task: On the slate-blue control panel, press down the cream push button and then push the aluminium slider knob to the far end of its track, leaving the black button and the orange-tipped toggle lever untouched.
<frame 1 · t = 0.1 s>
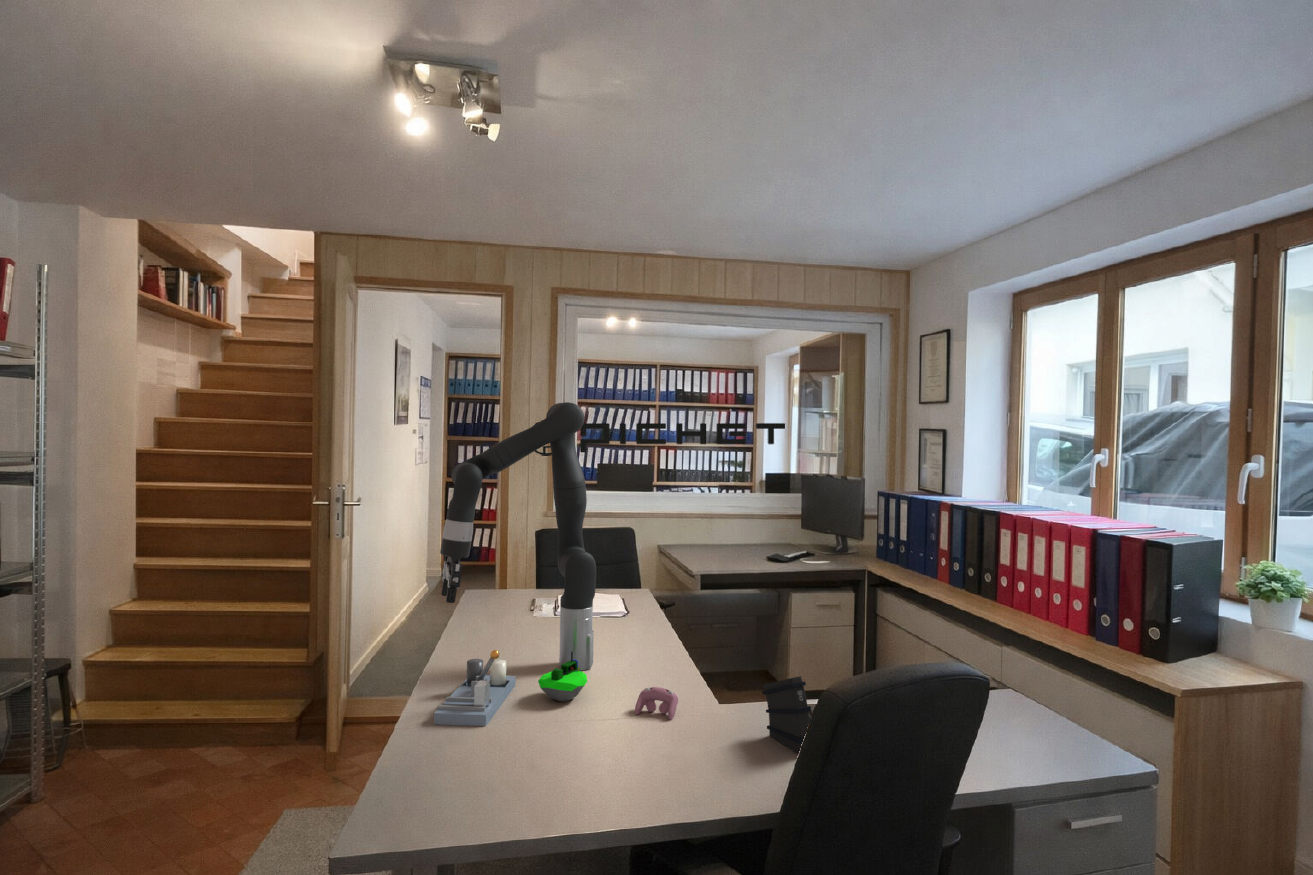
hand: (447, 599, 186), 22 cm above the table, tool pointing down, fingers open, 8 cm apart
button b: (474, 671, 180), point 5 cm above the table, slide at 0.0 cm
button a: (498, 672, 180), point 5 cm above the table, slide at 0.0 cm
toggle lever: (486, 668, 173), point 9 cm above the table, hinge at -30.0°
panel: (477, 703, 173), on the table
slider knob: (482, 694, 165), point 5 cm above the table, slide at 0.0 cm
video game controller: (656, 714, 168), on the table
magazine: (786, 742, 154), on the table
green floating island model: (562, 699, 177), on the table
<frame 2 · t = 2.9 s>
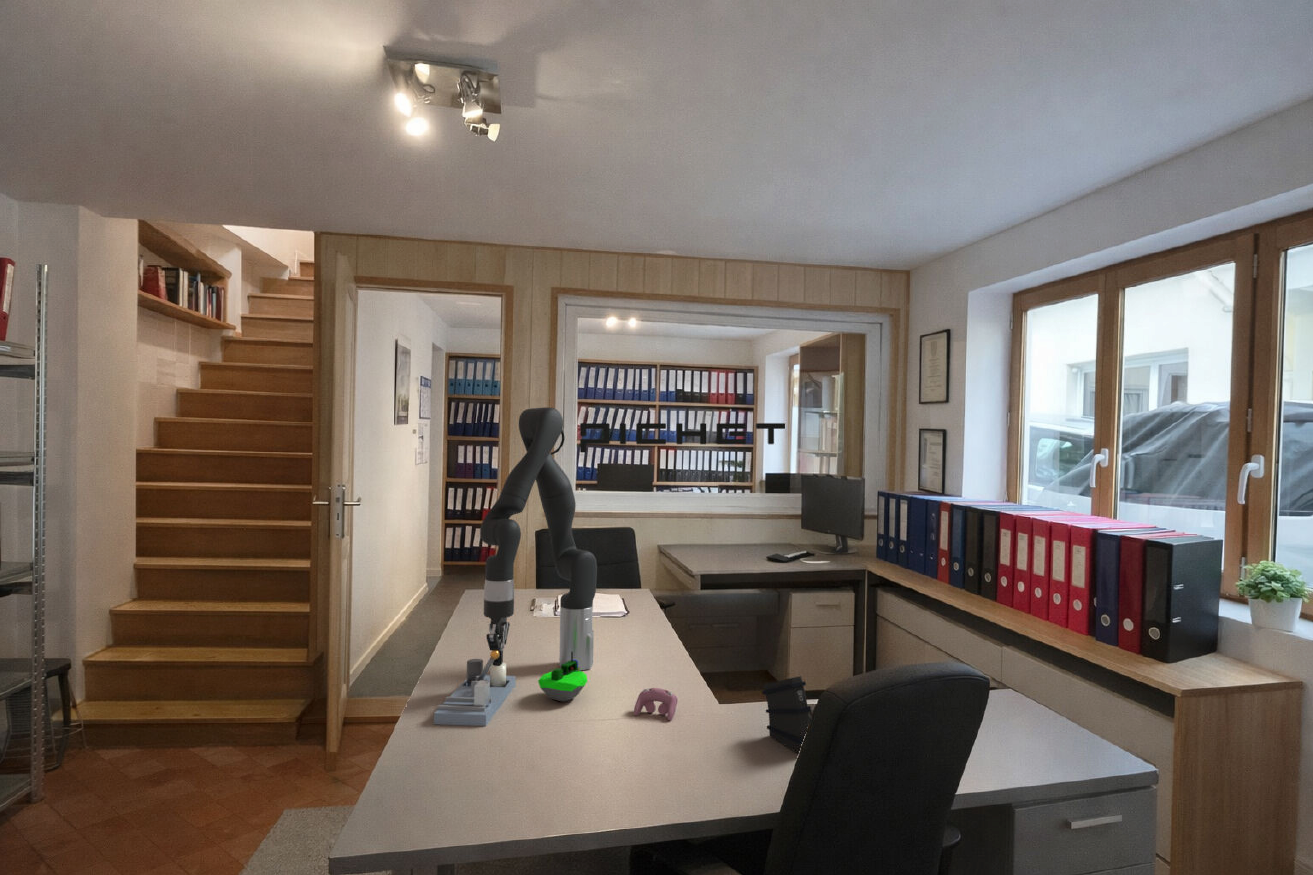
hand: (497, 664, 180), 7 cm above the table, tool pointing down, fingers closed
button a: (498, 674, 180), point 5 cm above the table, slide at 0.7 cm, touching gripper
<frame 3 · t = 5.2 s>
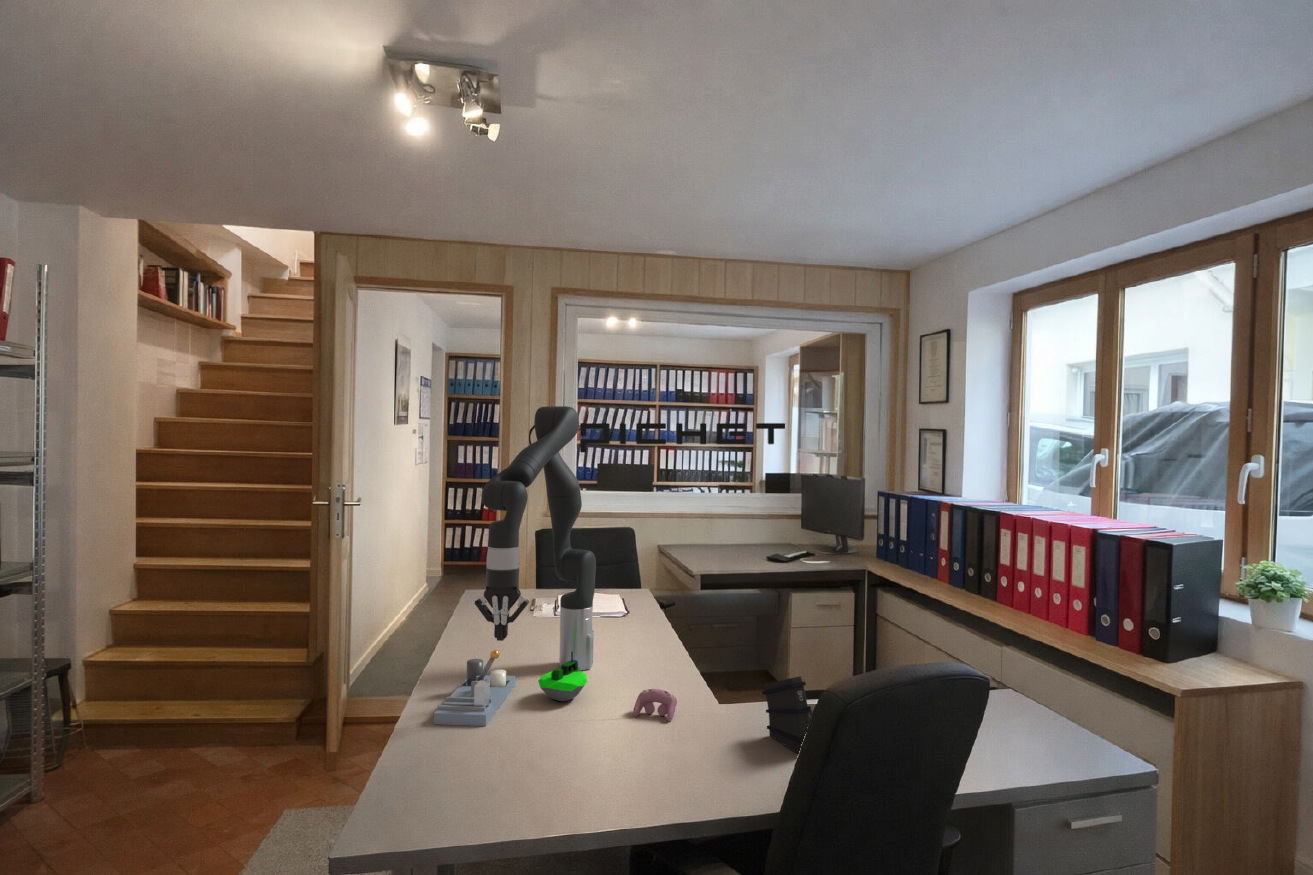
hand: (501, 639, 166), 18 cm above the table, tool pointing down, fingers closed
button a: (497, 682, 180), point 3 cm above the table, slide at 2.6 cm
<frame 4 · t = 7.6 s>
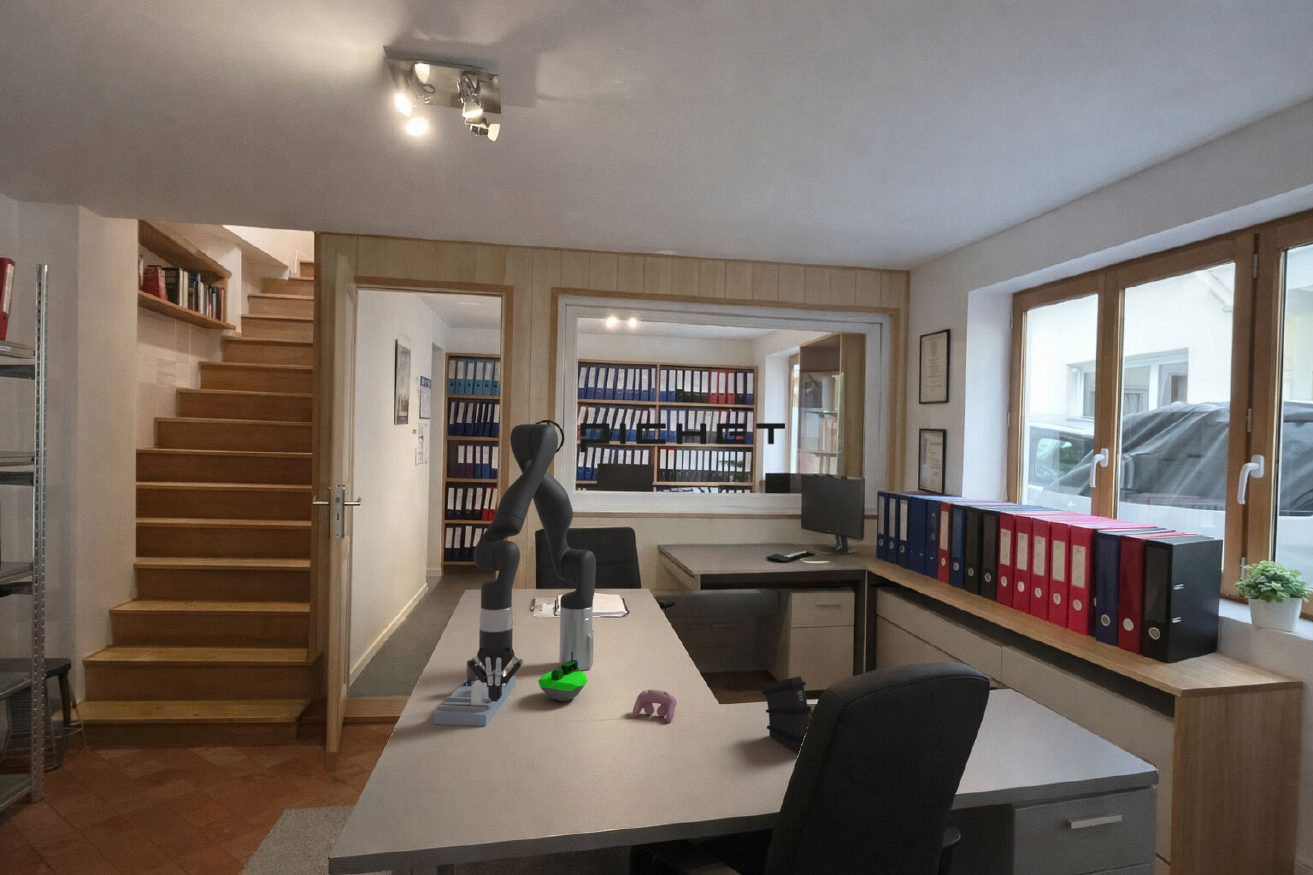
hand: (495, 700, 164), 4 cm above the table, tool pointing down, fingers closed
slider knob: (478, 694, 165), point 5 cm above the table, slide at 0.7 cm, touching gripper
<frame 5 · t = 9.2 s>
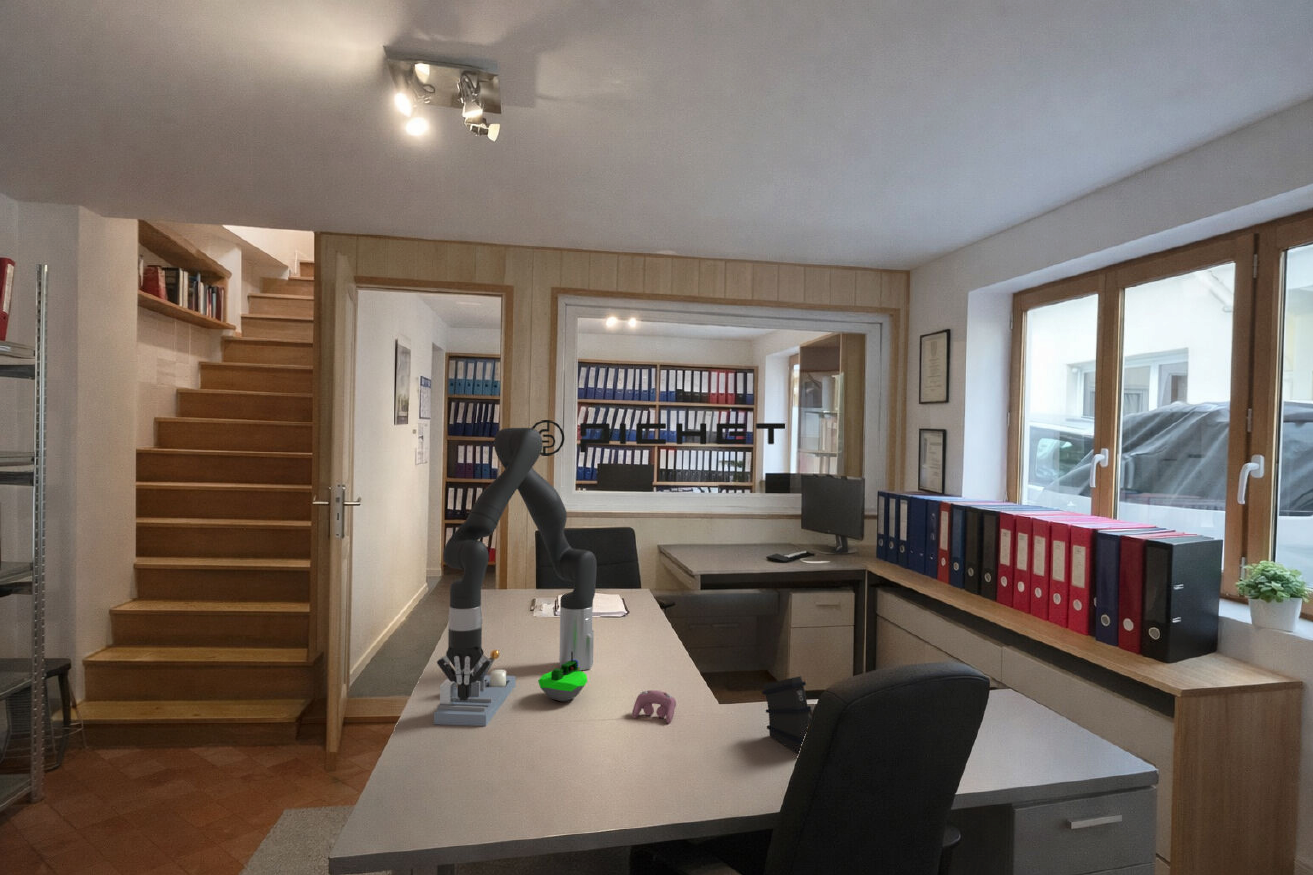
hand: (464, 699, 165), 4 cm above the table, tool pointing down, fingers closed
slider knob: (448, 692, 165), point 5 cm above the table, slide at 8.0 cm, touching gripper
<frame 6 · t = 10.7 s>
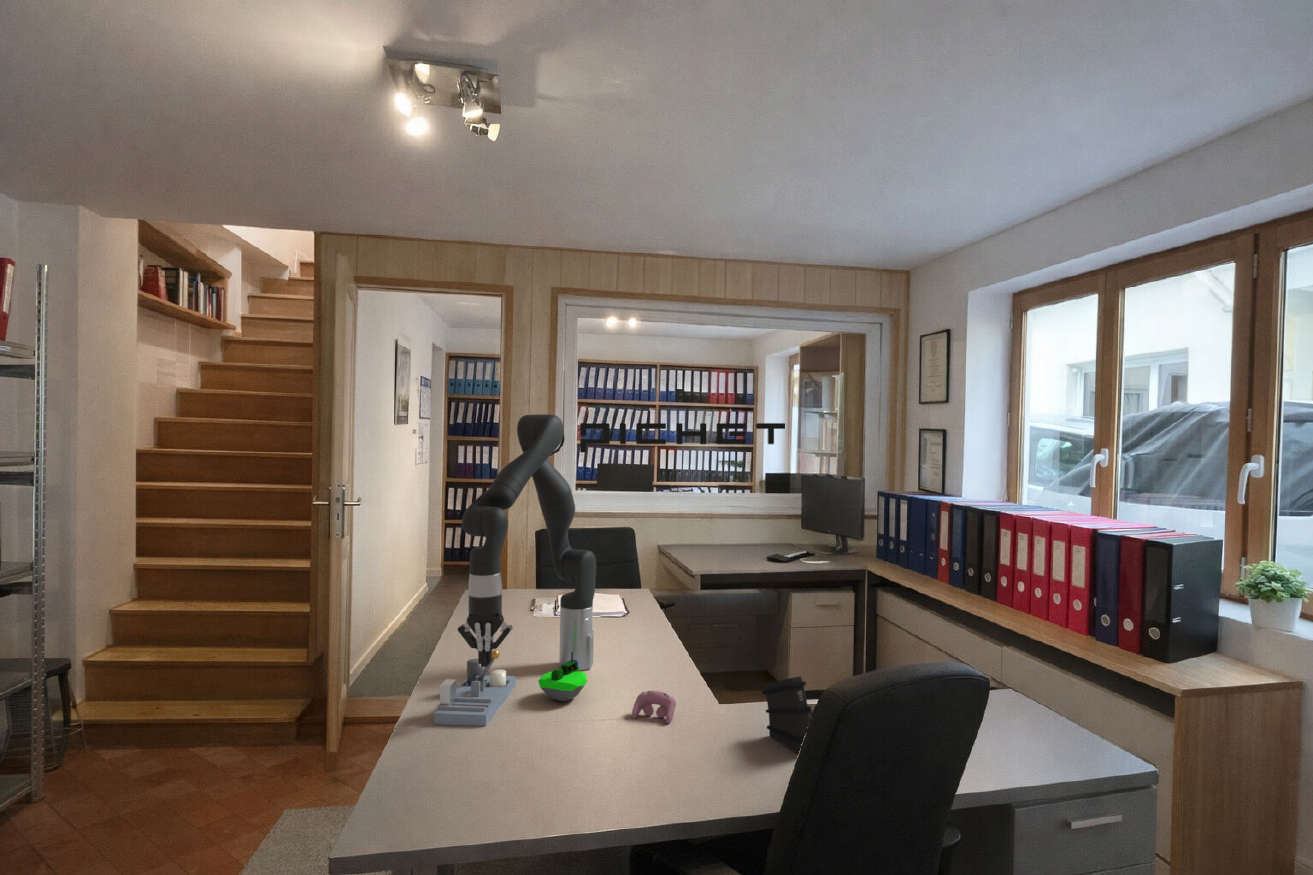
hand: (485, 665, 165), 12 cm above the table, tool pointing down, fingers closed
slider knob: (448, 692, 165), point 5 cm above the table, slide at 8.0 cm
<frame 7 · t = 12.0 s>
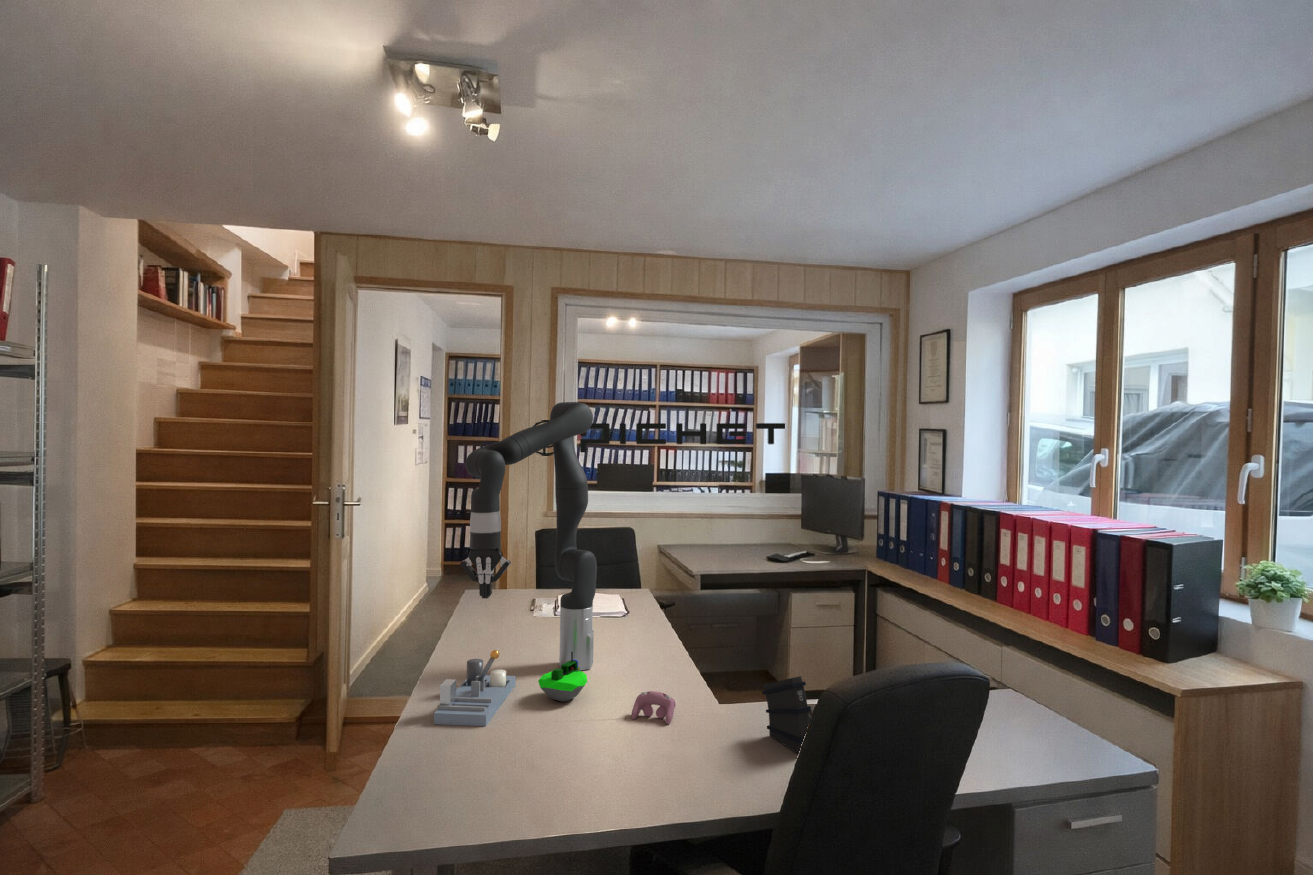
hand: (485, 597, 178), 25 cm above the table, tool pointing down, fingers closed
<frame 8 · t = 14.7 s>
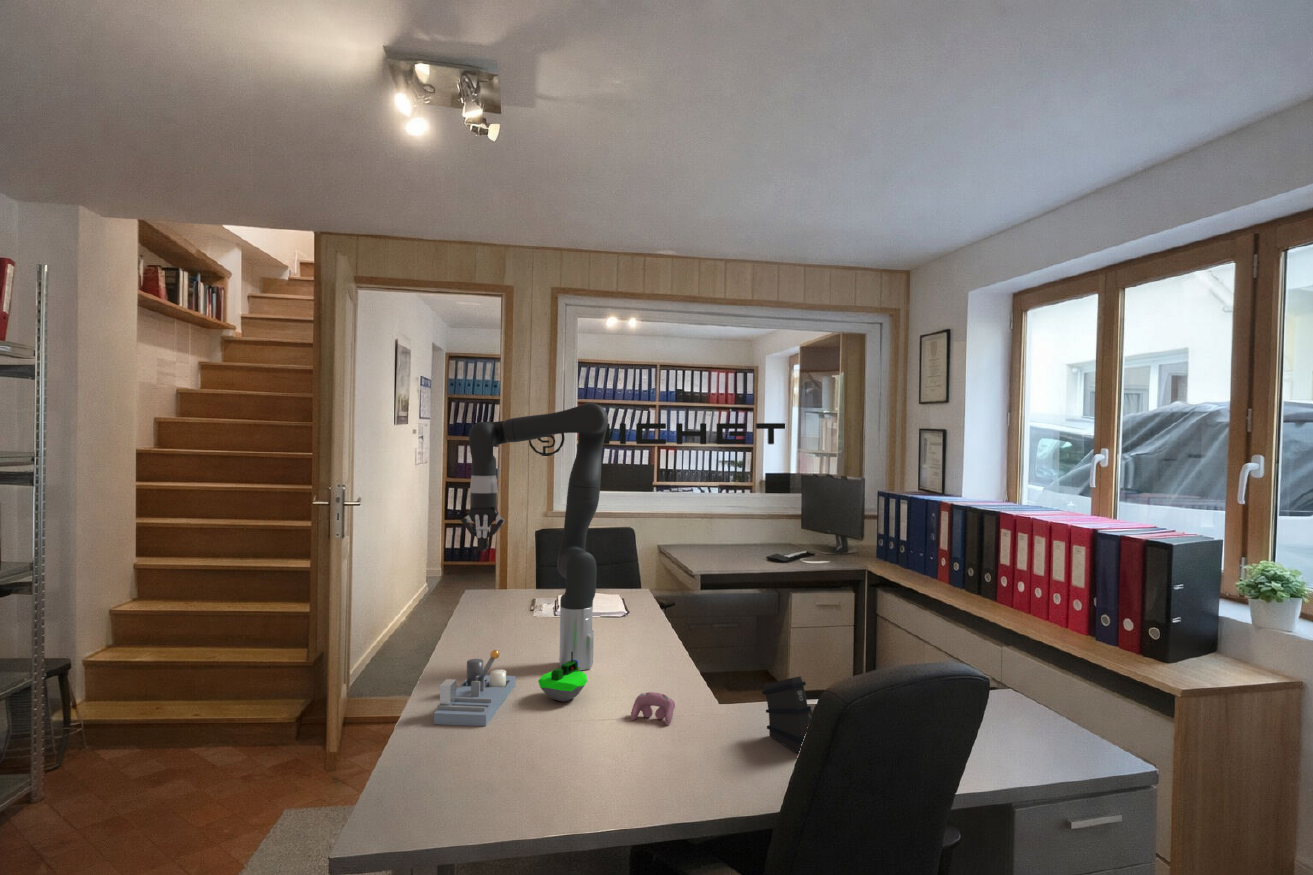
hand: (482, 550, 205), 32 cm above the table, tool pointing down, fingers closed
at the end: button a slide at 2.6 cm; slider knob slide at 8.0 cm; button b slide at 0.0 cm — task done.
